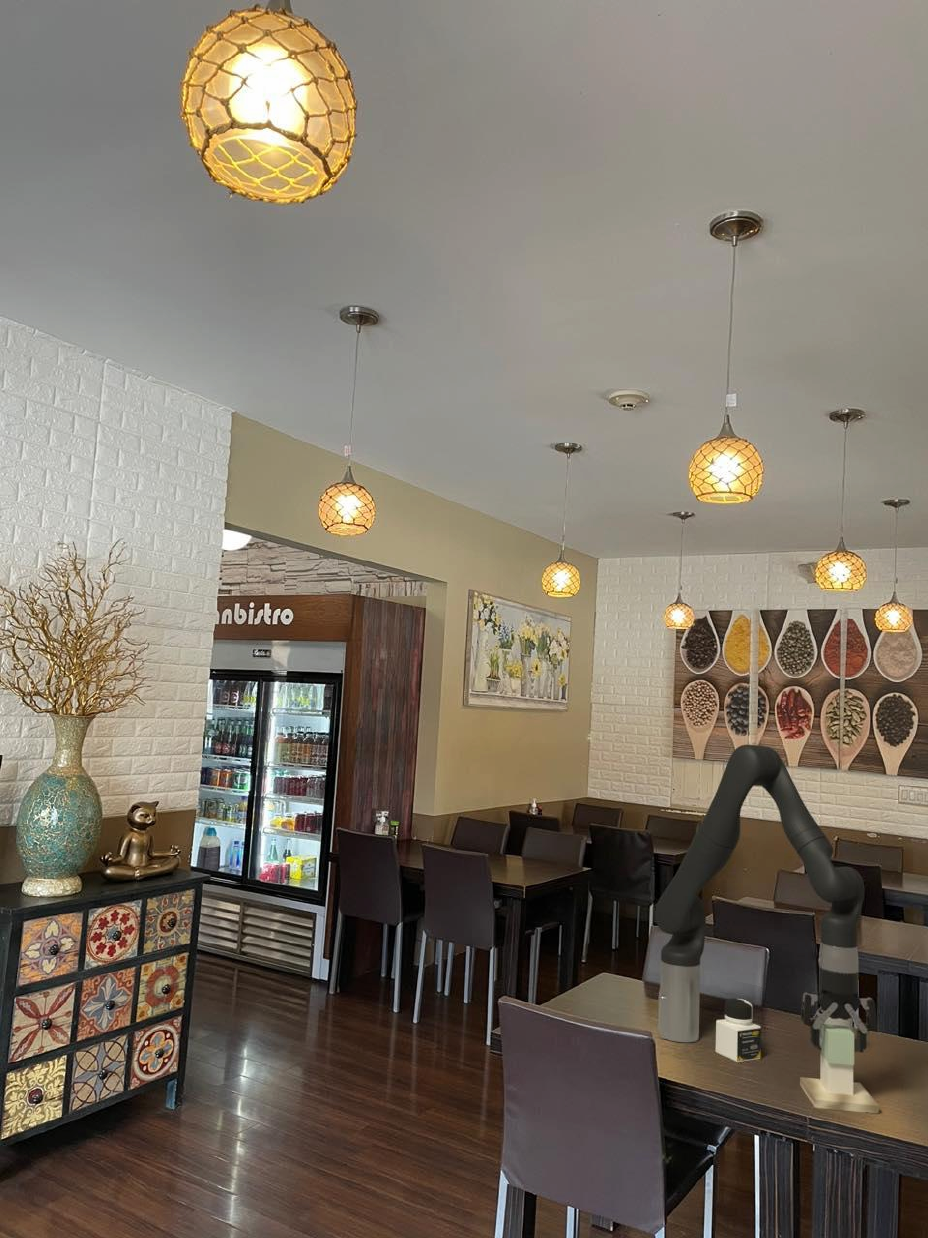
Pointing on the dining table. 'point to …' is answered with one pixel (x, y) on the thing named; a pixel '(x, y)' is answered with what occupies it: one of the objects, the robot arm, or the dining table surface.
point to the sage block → (837, 1044)
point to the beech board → (839, 1097)
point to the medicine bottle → (738, 1032)
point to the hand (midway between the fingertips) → (838, 1049)
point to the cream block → (836, 1077)
